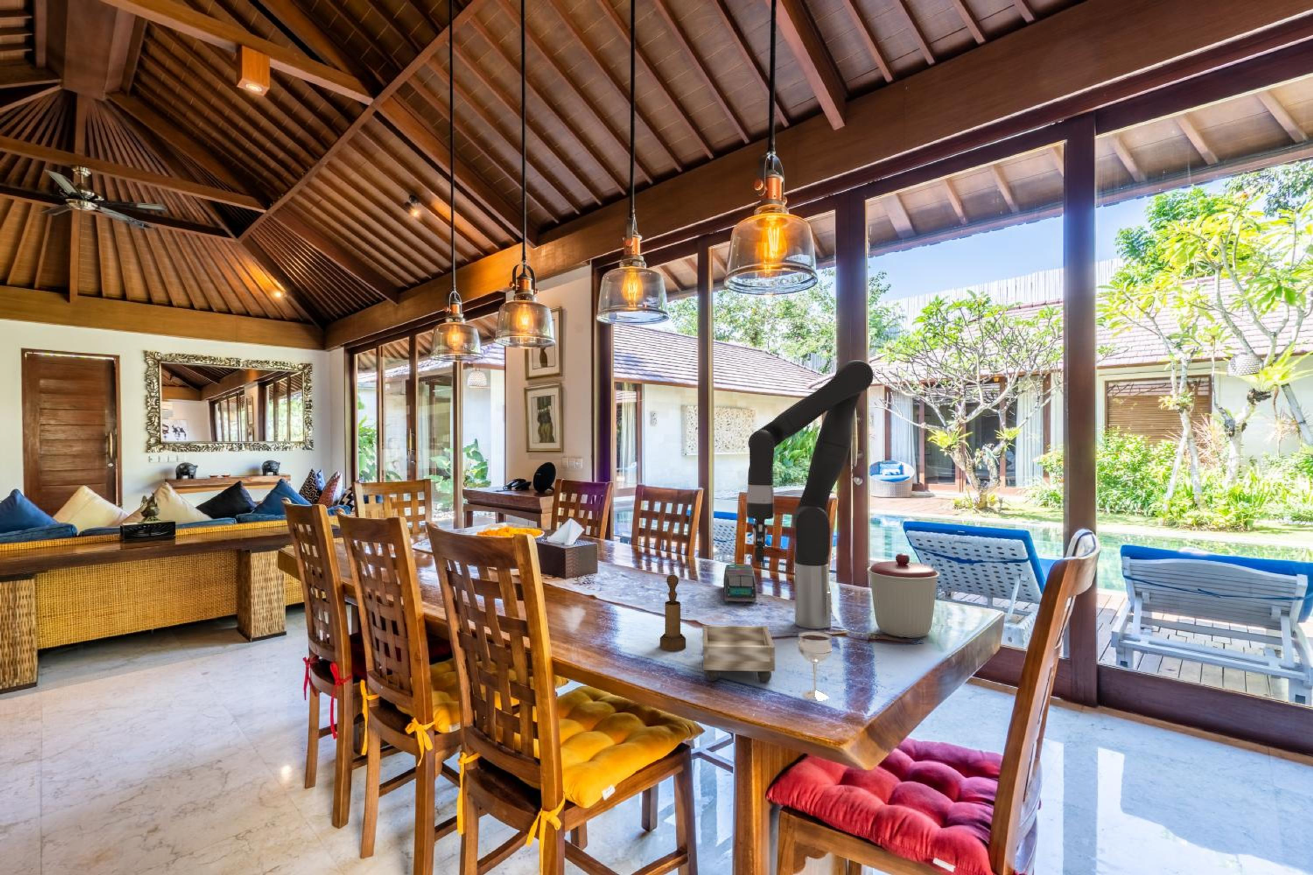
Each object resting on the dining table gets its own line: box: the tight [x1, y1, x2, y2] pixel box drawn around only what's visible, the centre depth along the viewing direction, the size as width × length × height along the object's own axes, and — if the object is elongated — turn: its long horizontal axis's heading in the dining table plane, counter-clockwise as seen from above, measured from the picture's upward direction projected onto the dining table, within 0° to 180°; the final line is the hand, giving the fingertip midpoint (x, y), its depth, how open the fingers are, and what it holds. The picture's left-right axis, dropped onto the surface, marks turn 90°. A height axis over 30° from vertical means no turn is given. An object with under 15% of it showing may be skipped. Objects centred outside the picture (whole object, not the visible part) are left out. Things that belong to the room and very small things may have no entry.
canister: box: [866, 552, 941, 639], centre depth 165 cm, size 18×18×21 cm
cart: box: [702, 625, 776, 683], centre depth 138 cm, size 15×15×8 cm
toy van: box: [723, 563, 758, 604], centre depth 206 cm, size 11×25×10 cm, turn 174°
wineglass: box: [797, 630, 833, 701], centre depth 125 cm, size 7×7×12 cm
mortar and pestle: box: [659, 574, 687, 652], centre depth 155 cm, size 7×6×18 cm
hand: (759, 559), depth 173 cm, fingers open, 8 cm apart
